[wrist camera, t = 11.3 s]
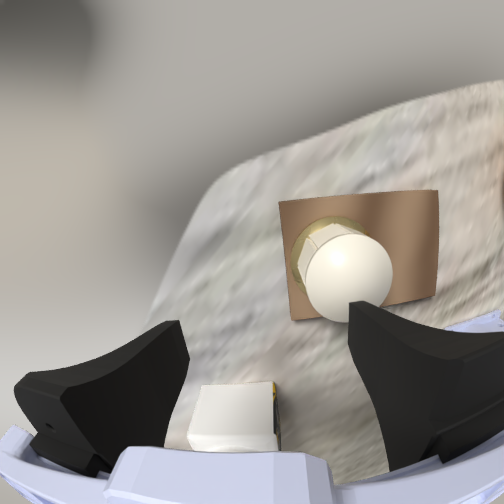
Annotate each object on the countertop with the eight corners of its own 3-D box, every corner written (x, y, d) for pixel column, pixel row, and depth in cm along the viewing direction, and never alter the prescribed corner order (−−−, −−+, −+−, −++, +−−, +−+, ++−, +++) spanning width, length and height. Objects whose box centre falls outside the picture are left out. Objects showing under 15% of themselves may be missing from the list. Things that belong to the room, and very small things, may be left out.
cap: (353, 303, 20) (370, 330, 16) (287, 285, 20) (293, 310, 16) (380, 237, 19) (405, 251, 15) (313, 213, 18) (325, 221, 14)
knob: (371, 212, 19) (390, 217, 16) (373, 293, 20) (388, 311, 17) (285, 221, 19) (289, 228, 16) (294, 305, 21) (298, 325, 18)
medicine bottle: (280, 424, 26) (283, 517, 14) (216, 427, 26) (199, 516, 15) (274, 379, 24) (276, 488, 12) (201, 383, 24) (170, 483, 13)
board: (430, 189, 19) (438, 190, 18) (428, 290, 21) (435, 295, 20) (278, 201, 20) (279, 202, 19) (290, 313, 22) (291, 320, 21)
